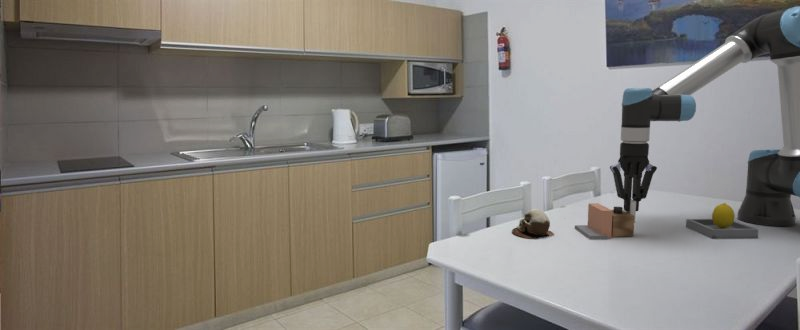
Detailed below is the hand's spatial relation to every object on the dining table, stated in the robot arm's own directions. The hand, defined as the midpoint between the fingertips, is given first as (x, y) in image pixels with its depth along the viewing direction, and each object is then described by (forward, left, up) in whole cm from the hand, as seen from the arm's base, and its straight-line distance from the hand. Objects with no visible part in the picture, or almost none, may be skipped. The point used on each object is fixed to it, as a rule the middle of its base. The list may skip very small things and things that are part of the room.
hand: (630, 222), depth 149 cm
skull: (+28, -1, -4) cm, 29 cm away
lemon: (-27, 0, -3) cm, 27 cm away
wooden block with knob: (+4, 0, -3) cm, 5 cm away
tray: (-27, 0, -3) cm, 27 cm away
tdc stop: (+11, 0, -3) cm, 11 cm away
